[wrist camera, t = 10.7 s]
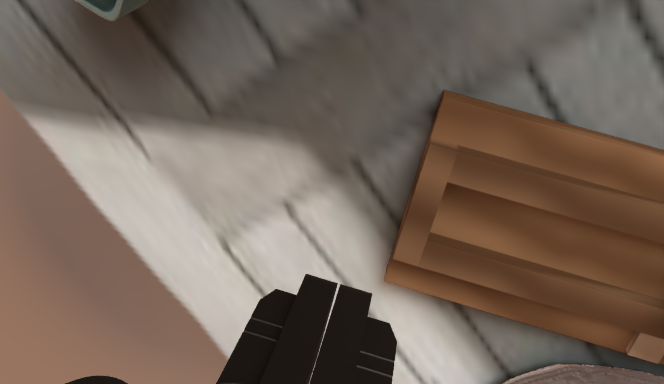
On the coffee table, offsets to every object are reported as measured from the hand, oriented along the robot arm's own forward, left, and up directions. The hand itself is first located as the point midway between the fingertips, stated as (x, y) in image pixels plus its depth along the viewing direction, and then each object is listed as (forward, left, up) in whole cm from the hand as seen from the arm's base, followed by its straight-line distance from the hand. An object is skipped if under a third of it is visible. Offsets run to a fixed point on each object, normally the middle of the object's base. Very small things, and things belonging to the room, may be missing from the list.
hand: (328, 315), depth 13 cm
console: (+10, +17, -32) cm, 38 cm away
